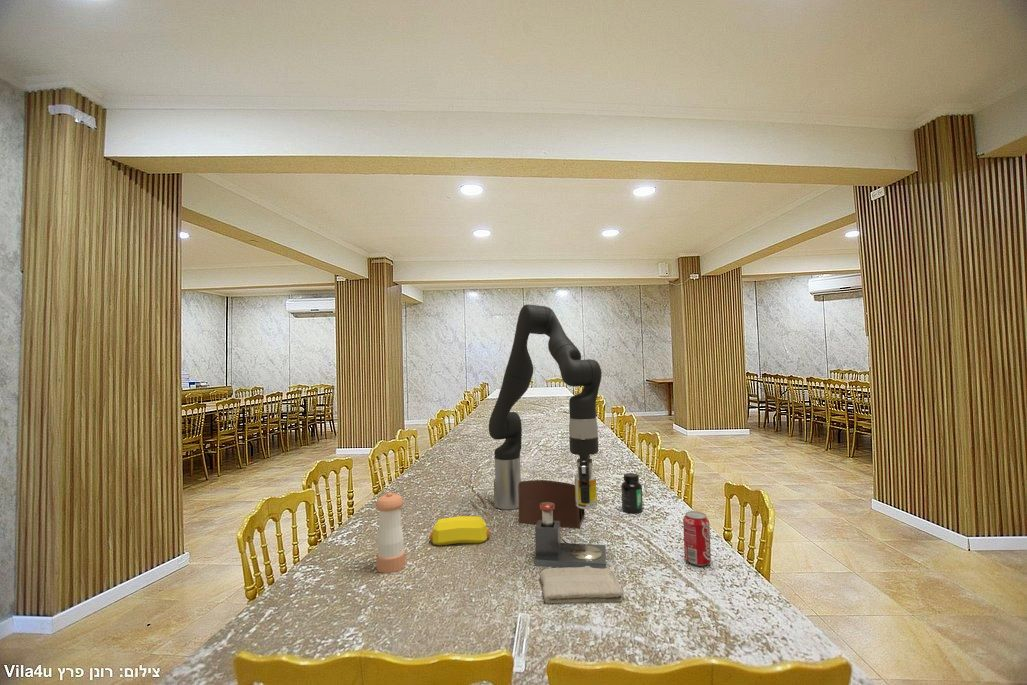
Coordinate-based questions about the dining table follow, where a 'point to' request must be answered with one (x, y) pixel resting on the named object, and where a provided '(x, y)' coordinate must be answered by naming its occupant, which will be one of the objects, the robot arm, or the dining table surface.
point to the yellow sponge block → (459, 530)
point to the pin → (547, 513)
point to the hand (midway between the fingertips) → (585, 498)
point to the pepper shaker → (390, 534)
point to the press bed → (565, 550)
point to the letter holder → (549, 492)
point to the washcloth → (580, 585)
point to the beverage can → (697, 538)
